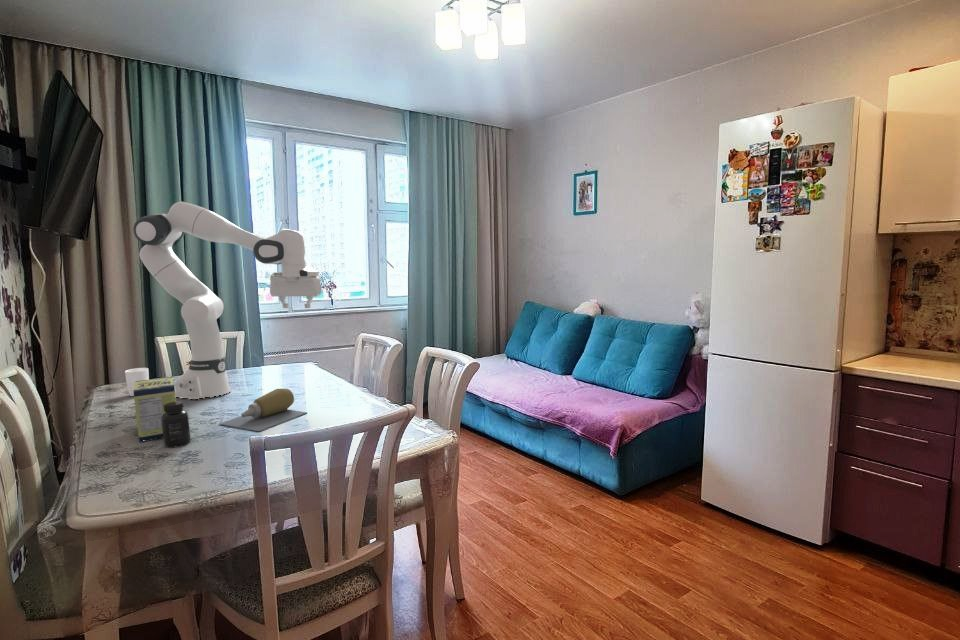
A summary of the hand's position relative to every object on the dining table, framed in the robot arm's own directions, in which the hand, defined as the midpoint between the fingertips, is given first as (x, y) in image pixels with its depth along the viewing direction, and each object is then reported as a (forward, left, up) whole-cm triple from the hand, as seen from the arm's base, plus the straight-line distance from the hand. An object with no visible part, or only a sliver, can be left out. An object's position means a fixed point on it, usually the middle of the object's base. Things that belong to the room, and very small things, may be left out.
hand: (296, 308), depth 203 cm
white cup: (-64, -13, -33) cm, 73 cm away
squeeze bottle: (+9, -22, -28) cm, 37 cm away
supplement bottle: (-5, -58, -33) cm, 67 cm away
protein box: (-19, -50, -33) cm, 63 cm away
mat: (+6, -34, -33) cm, 48 cm away
